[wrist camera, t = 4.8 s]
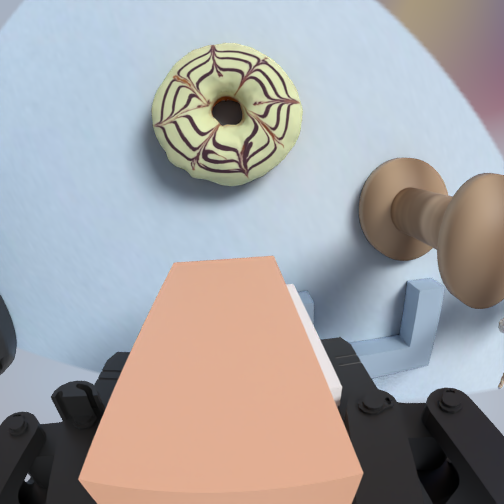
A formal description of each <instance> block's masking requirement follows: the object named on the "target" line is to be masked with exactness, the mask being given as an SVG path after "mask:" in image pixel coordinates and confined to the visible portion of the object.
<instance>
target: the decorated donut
mask: <svg viewBox="0 0 504 504" xmlns="http://www.w3.org/2000/svg"><path fill="white" fill-rule="evenodd" d="M222 100H225V101H227V100H231V101H235V102H238V103H239V104H240V106H241V110H242V114H243V115H242V116H243V117H242V119H241V121H240V123H239V124H237V125H229V124H227V125H224V126H222V125H221V124H220V123H219V122H218V121H217V120H216V119H215V118H213V115H212V109H213V107H214V106H215V105H216V104H217V103H219V102H221V101H222ZM151 111H152V121H153V128H154V131H155V135H156V137H157V139H158V141H159V143H160V145H161V146H162V147H163V149H164V150H165V152H166V154H167V157H168V159H169V161H170V162H171V163H172V164H173V165H175V166H176V167H179V168H181V169H184V170H186V171H187V172H188V173H189V174H190V175H191V177H193V178H197V179H206V180H209V181H212V182H215V183H217V184H220V185H226V186H237V185H243V184H245V183H248V182H250V181H252V180H254V179H256V178H259V177H261V176H263V175H265V174H266V173H267V172H268V171H270V170H271V169H273V168H274V167H275V166H277V165H278V164H279V163H280V162H281V161H282V160H283V159H284V158H285V157H286V155H287V154H288V153H289V151H290V150H291V149H292V147H293V146H294V144H295V143H296V140H297V139H298V136H299V134H300V129H301V122H302V113H303V109H302V105H301V102H300V99H299V96H298V92H297V90H296V88H295V86H294V84H293V83H292V81H291V80H290V79H289V77H288V76H287V74H286V73H285V72H284V71H283V69H282V68H281V67H280V66H279V65H278V64H277V63H276V62H275V61H274V60H272V59H271V58H269V57H268V56H266V55H264V54H262V53H261V52H259V51H257V50H255V49H253V48H251V47H247V46H243V45H240V44H236V43H223V44H217V45H208V46H205V47H202V48H199V49H195V50H193V51H191V52H190V53H188V54H187V55H186V56H184V57H183V58H182V59H180V60H179V61H178V62H177V63H176V64H175V65H174V66H173V67H172V69H171V70H170V72H169V73H168V74H167V76H166V78H165V79H164V81H163V83H162V84H161V85H160V87H159V88H158V90H157V92H156V94H155V97H154V100H153V104H152V110H151Z"/></svg>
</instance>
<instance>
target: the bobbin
mask: <svg viewBox="0 0 504 504" xmlns="http://www.w3.org/2000/svg"><path fill="white" fill-rule="evenodd" d="M359 219H360V224H361V228H362V230H363V233H364V235H365V237H366V238H367V240H368V241H369V243H370V244H371V245H372V246H373V247H374V248H375V249H377V250H378V251H379V252H381V253H382V254H384V255H385V256H387V257H389V258H391V259H395V260H400V261H408V260H413V259H416V258H419V257H421V256H423V255H424V254H426V253H428V252H429V251H430V250H431V249H432V248H435V249H436V250H437V259H438V267H439V272H440V275H441V278H442V281H443V283H444V285H445V286H446V288H447V290H448V291H449V292H450V293H451V294H452V295H453V296H455V297H456V298H457V299H459V300H460V301H462V302H463V303H464V304H466V305H467V306H469V307H471V308H475V309H484V308H489V307H492V306H494V305H496V304H498V303H499V302H500V301H502V300H503V299H504V175H499V174H493V173H483V174H478V175H476V176H474V177H472V178H470V179H469V180H467V181H466V182H465V183H464V184H463V185H462V186H461V187H460V188H459V189H458V190H457V192H456V193H455V195H454V196H453V197H452V196H448V192H447V189H446V186H445V184H444V181H443V179H442V178H441V176H440V175H439V173H438V172H437V171H436V170H435V169H434V168H433V167H432V166H430V165H429V164H428V163H426V162H424V161H422V160H418V159H414V158H396V159H392V160H389V161H386V162H385V163H383V164H381V165H380V166H378V167H377V168H376V169H375V170H374V171H373V172H372V173H371V175H370V176H369V177H368V179H367V181H366V182H365V184H364V187H363V189H362V192H361V195H360V200H359Z"/></svg>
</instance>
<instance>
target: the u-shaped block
mask: <svg viewBox="0 0 504 504" xmlns="http://www.w3.org/2000/svg"><path fill="white" fill-rule="evenodd" d="M444 291H445V287H444V286H443V285H441V284H440V283H439V282H437V281H436V280H434V279H433V278H427V279H419V280H411V281H407V288H406V296H405V303H404V310H403V316H402V323H401V329H400V335H395V336H390V337H384V338H378V339H372V340H365V341H359V342H352V343H349V344H351V345H352V347H353V349H354V350H355V352H356V355H358V357H359V359H360V360H361V363H362V364H363V365H364V367H365V369H366V370H367V372H368V374H369V375H370V377H371V378H375V377H380V376H385V375H390V374H395V373H399V372H404V371H408V370H412V369H416V368H420V367H424V366H428V364H429V360H430V357H431V353H432V349H433V345H434V340H435V336H436V332H437V327H438V323H439V318H440V313H441V307H442V302H443V296H444ZM298 294H299V296H300V299H301V301H302V303H303V305H304V307H305V309H306V311H307V313H308V315H309V317H310V319H311V321H312V324H314V302H313V300H312V298H311V296H310V294H309V293H308V291H303V292H298Z"/></svg>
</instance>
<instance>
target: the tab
mask: <svg viewBox="0 0 504 504" xmlns="http://www.w3.org/2000/svg"><path fill="white" fill-rule="evenodd" d="M362 476H363V471H362V468H361V466H360V463H359V461H358V458H357V456H356V453H355V451H354V448H353V446H352V443H351V441H350V438H349V436H348V433H347V431H346V428H345V426H344V423H343V421H342V418H341V416H340V413H339V411H338V408H337V406H336V403H335V401H334V398H333V396H332V393H331V391H330V389H329V386H328V384H327V381H326V379H325V376H324V374H323V372H322V369H321V367H320V364H319V362H318V359H317V357H316V355H315V352H314V350H313V347H312V345H311V343H310V340H309V338H308V335H307V333H306V331H305V328H304V326H303V324H302V321H301V319H300V316H299V314H298V312H297V309H296V307H295V305H294V302H293V300H292V298H291V295H290V293H289V291H288V288H287V286H286V284H285V281H284V279H283V277H282V274H281V272H280V270H279V267H278V265H277V263H276V260H275V258H274V256H264V257H249V258H235V259H221V260H206V261H192V262H177V263H174V264H173V266H172V267H171V269H170V271H169V273H168V275H167V277H166V279H165V281H164V283H163V285H162V287H161V289H160V291H159V293H158V295H157V297H156V299H155V301H154V303H153V305H152V308H151V310H150V312H149V314H148V316H147V318H146V320H145V322H144V324H143V326H142V328H141V330H140V333H139V335H138V337H137V339H136V341H135V343H134V345H133V348H132V350H131V352H130V354H129V356H128V359H127V361H126V363H125V365H124V368H123V370H122V372H121V374H120V377H119V379H118V381H117V383H116V386H115V388H114V390H113V393H112V395H111V397H110V400H109V402H108V404H107V407H106V409H105V412H104V414H103V416H102V419H101V421H100V424H99V426H98V429H97V431H96V434H95V436H94V439H93V441H92V444H91V446H90V449H89V452H88V454H87V457H86V460H85V462H84V465H83V468H82V470H81V473H80V476H79V479H78V480H79V481H80V482H81V484H82V485H83V486H84V488H85V489H86V490H87V492H88V493H89V494H90V495H91V497H92V498H93V499H94V500H95V501H96V503H97V504H352V501H353V499H354V497H355V494H356V492H357V489H358V486H359V484H360V481H361V478H362Z"/></svg>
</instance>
